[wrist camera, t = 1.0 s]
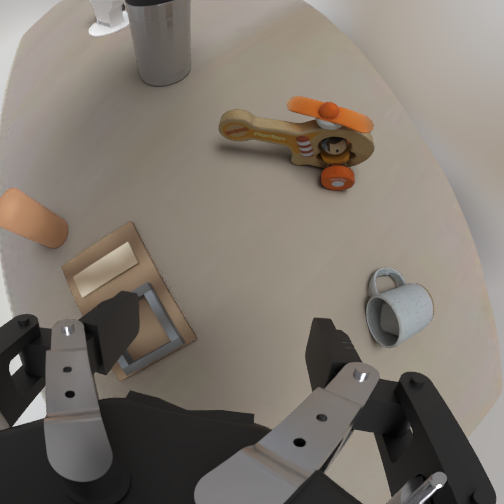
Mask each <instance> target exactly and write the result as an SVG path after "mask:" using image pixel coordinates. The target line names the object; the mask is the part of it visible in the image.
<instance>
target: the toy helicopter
mask: <svg viewBox="0 0 504 504" xmlns="http://www.w3.org/2000/svg"><path fill="white" fill-rule="evenodd" d="M287 108H288V109H289V110H290V111H292V112H296V113H300V114H303V115H307V116H312V117H316V120H312V121H308V122H304V123H292V122H287V121H280V120H273V119H266V118H260V117H256V116H254V115H253V114H251V113H250V112H248V111H245V110H239V109H235V110H230V111H227V112H226V113H224V114H223V115H222V117H221V120H220V124H219V132H220V133H221V135H222V136H224V137H225V138H227V139H229V140H233V141H247V140H259V141H264V142H270V143H274V144H279V145H284V146H287V147H288V148H290V150H291V162H292V163H293V164H296V165H304V164H309V165H313V166H317V167H321V168H325V169H324V170H323V171H322V173H321V183H322V185H323V186H324V187H326V188H328V189H331V190H345V189H348V188H351V187H352V186H353V185H354V182H355V180H354V172H353V171H352V170H351V169H350V168H348V167H351V166H355V165H357V164H360V163H362V162H364V161H365V160H367V159H368V158H369V157H370V156H371V155H372V153H373V152H374V143H373V138H372V136H371V134H370V132H371V131H372V130H373V127H374V124H373V121H372V120H371V119H370V118H369V117H367V116H365V115H362V114H360V113H357V112H354V111H352V110H349V109H346V108H342V107H339V106H337V105H336V104H334V103H332V102H326V103H323V102H320V101H317V100H313V99H309V98H305V97H301V96H296V97H292V98H291V99H289V100H288V102H287Z"/></svg>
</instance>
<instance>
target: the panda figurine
mask: <svg viewBox="0 0 504 504" xmlns="http://www.w3.org/2000/svg"><path fill="white" fill-rule="evenodd" d="M89 2H90V4H91V5H92V6H93V8H94V11H95V15H96V19H97V21H96V22H95V23H94V24H93V25H92V26H91V27H90V29H89V34H90V35H91V36H93V37H101V36H106V35H110V34H113V33H115V32H118V31H120V30H122V29H123V28H125V27H127V26H128V25H129V19H128V14H127V12H123V11H124V10H125V5H124V4H123V3H124V2H125V0H89Z"/></svg>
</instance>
